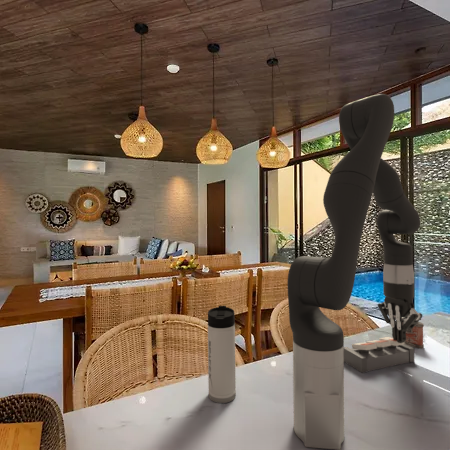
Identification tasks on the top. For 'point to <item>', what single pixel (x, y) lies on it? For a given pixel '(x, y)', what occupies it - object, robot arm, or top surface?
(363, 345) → the rocker near
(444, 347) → the top surface
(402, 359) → the dark grey slotted base
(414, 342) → the lighter
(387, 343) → the rocker middle
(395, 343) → the rocker far
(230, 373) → the travel mug
